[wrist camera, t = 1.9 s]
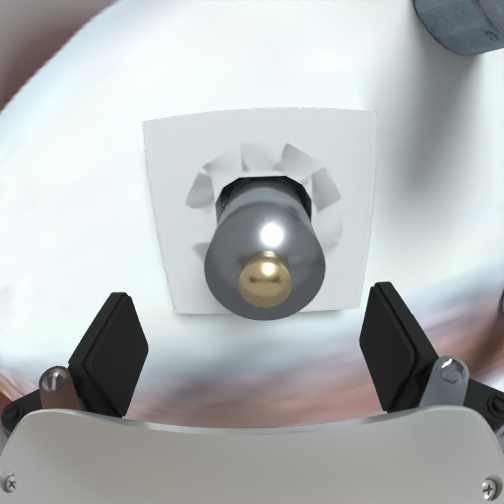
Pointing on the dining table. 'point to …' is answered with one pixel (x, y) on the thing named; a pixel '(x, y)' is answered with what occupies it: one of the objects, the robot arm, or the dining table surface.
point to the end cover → (264, 252)
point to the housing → (255, 165)
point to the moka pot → (464, 24)
